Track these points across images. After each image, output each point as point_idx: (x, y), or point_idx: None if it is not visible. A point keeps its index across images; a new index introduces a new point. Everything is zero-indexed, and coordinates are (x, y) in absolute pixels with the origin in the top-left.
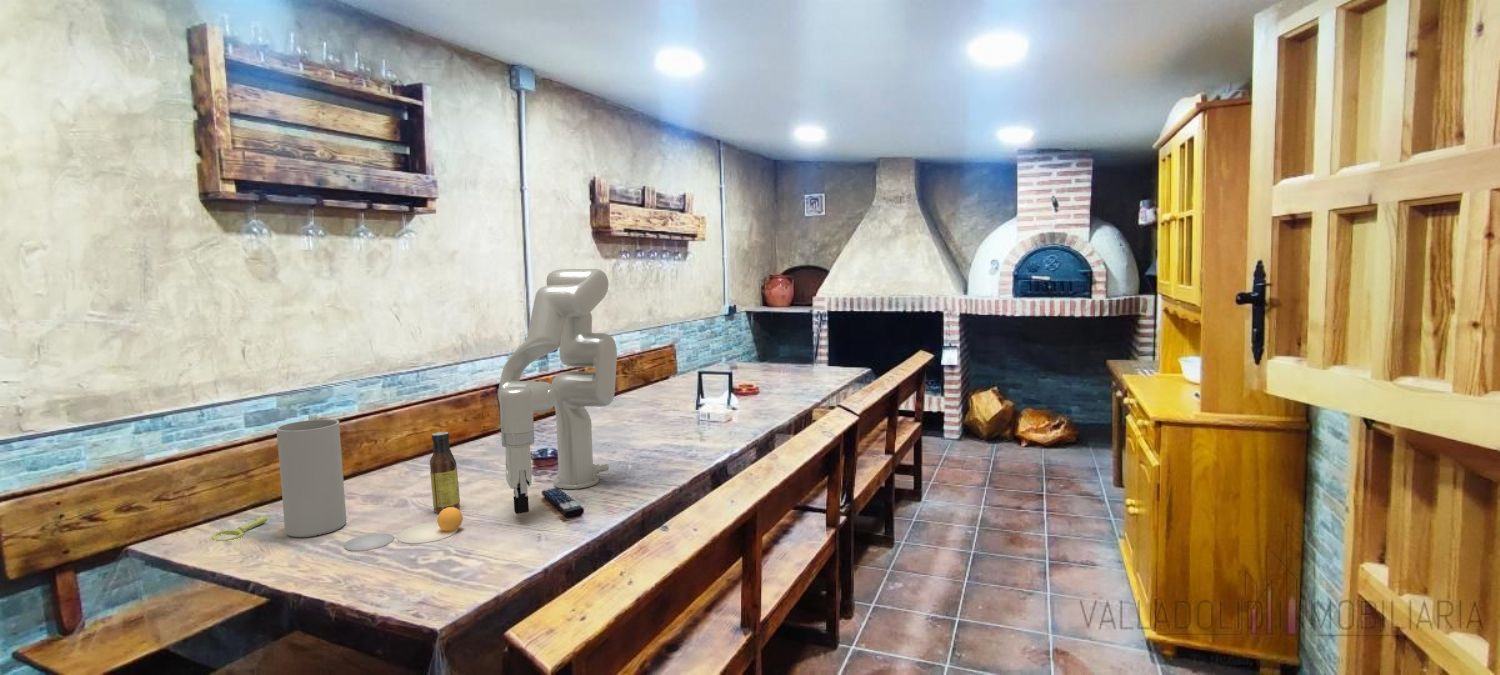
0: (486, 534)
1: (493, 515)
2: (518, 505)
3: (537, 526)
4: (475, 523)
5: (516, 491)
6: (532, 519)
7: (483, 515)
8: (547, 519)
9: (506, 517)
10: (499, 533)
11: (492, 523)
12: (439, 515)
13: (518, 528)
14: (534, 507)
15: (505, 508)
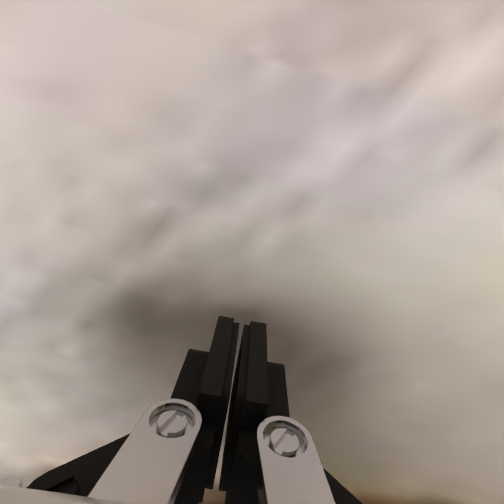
0: (49, 43)
1: (418, 207)
2: (195, 368)
3: (40, 353)
4: (341, 39)
5: (108, 476)
6: (175, 370)
7: (475, 147)
8: (127, 427)
9: (314, 265)
10: (26, 130)
11: (256, 151)
12: None
13: (61, 260)
14: (374, 442)
15: (496, 314)
